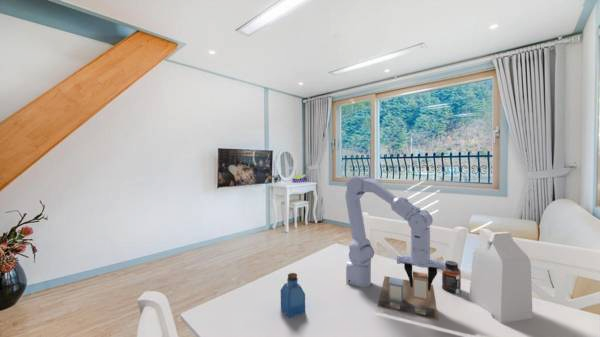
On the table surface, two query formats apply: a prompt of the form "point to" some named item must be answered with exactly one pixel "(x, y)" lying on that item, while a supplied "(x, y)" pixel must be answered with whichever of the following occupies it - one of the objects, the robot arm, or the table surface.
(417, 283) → the peach carton
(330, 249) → the table surface
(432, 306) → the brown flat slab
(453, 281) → the supplement bottle
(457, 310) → the table surface
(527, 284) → the milk
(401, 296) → the slate carton
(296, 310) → the perfume bottle
